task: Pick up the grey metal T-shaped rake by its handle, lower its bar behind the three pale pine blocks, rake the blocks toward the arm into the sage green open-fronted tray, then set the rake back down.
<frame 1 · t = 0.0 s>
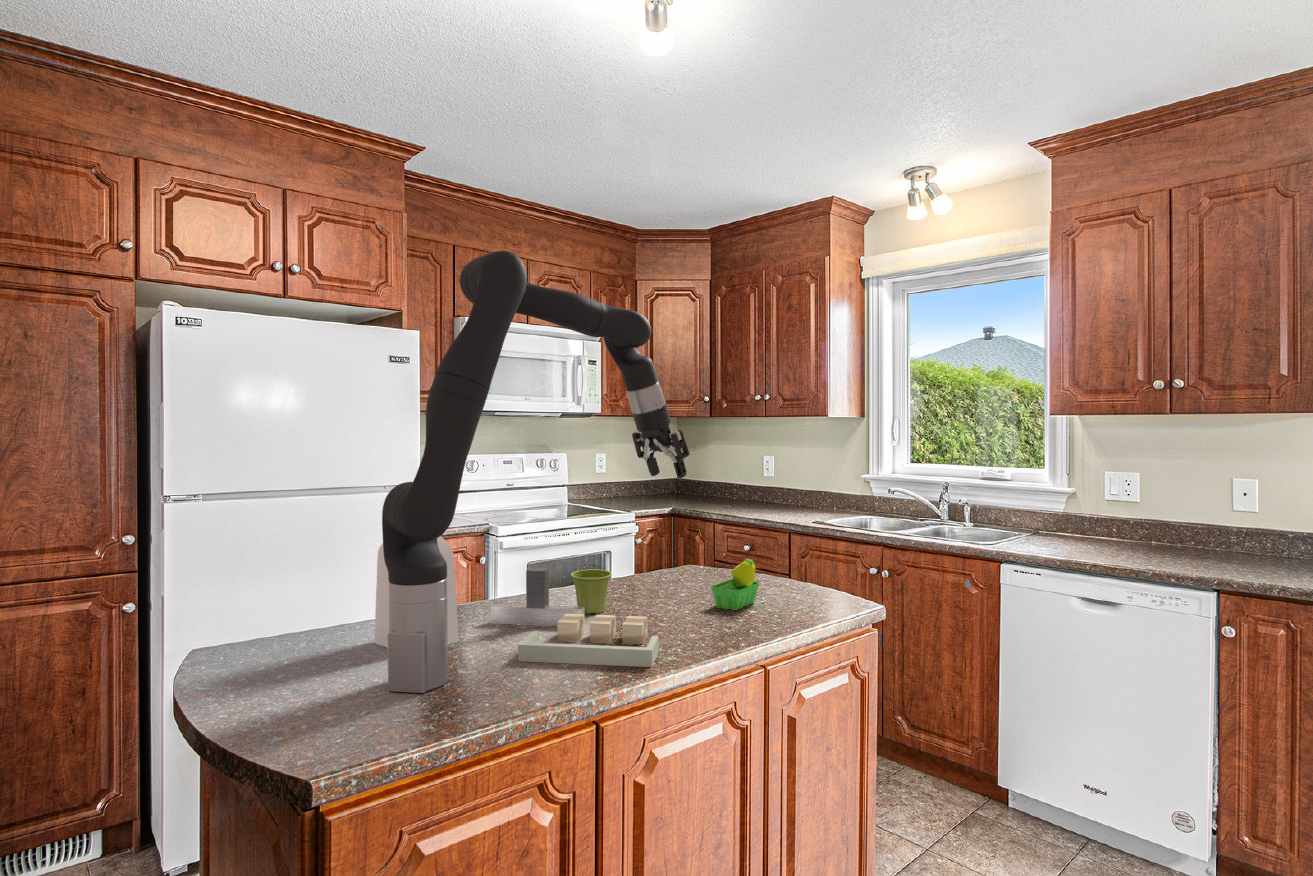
hand: (668, 475, 155), 31 cm above the worktop, tool tilted 20°, fingers open, 8 cm apart
plant pot: (591, 612, 163), on the worktop
milk: (416, 643, 140), on the worktop
block middle: (603, 639, 142), on the worktop
block left: (571, 638, 143), on the worktop
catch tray: (591, 654, 132), on the worktop
fruit basket: (737, 606, 167), on the worktop
block right: (635, 640, 141), on the worktop
rake: (537, 625, 152), on the worktop
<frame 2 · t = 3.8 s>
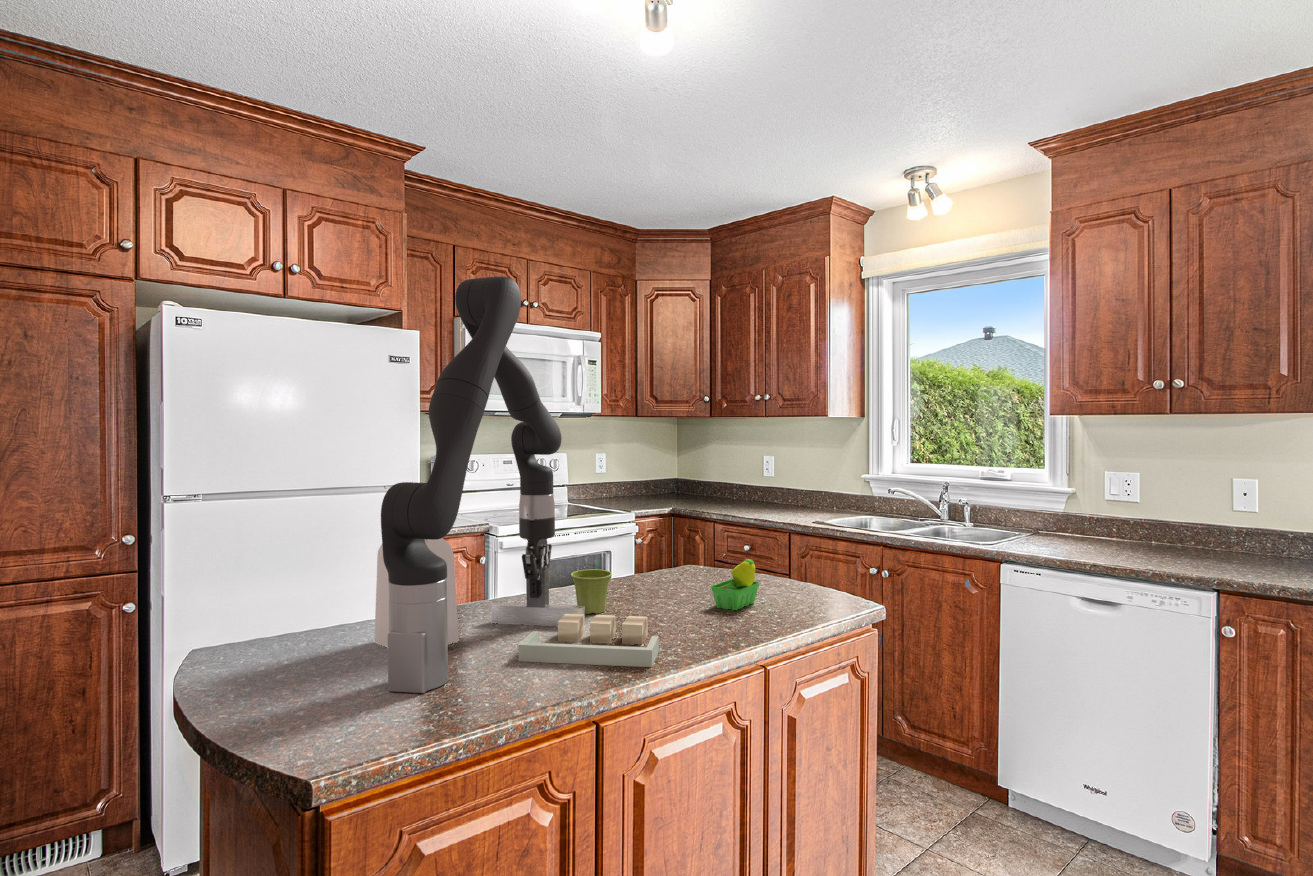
hand: (537, 595, 152), 6 cm above the worktop, tool pointing down, fingers closed on rake, 3 cm apart
rake: (538, 624, 153), on the worktop, touching gripper
everything else where it was.
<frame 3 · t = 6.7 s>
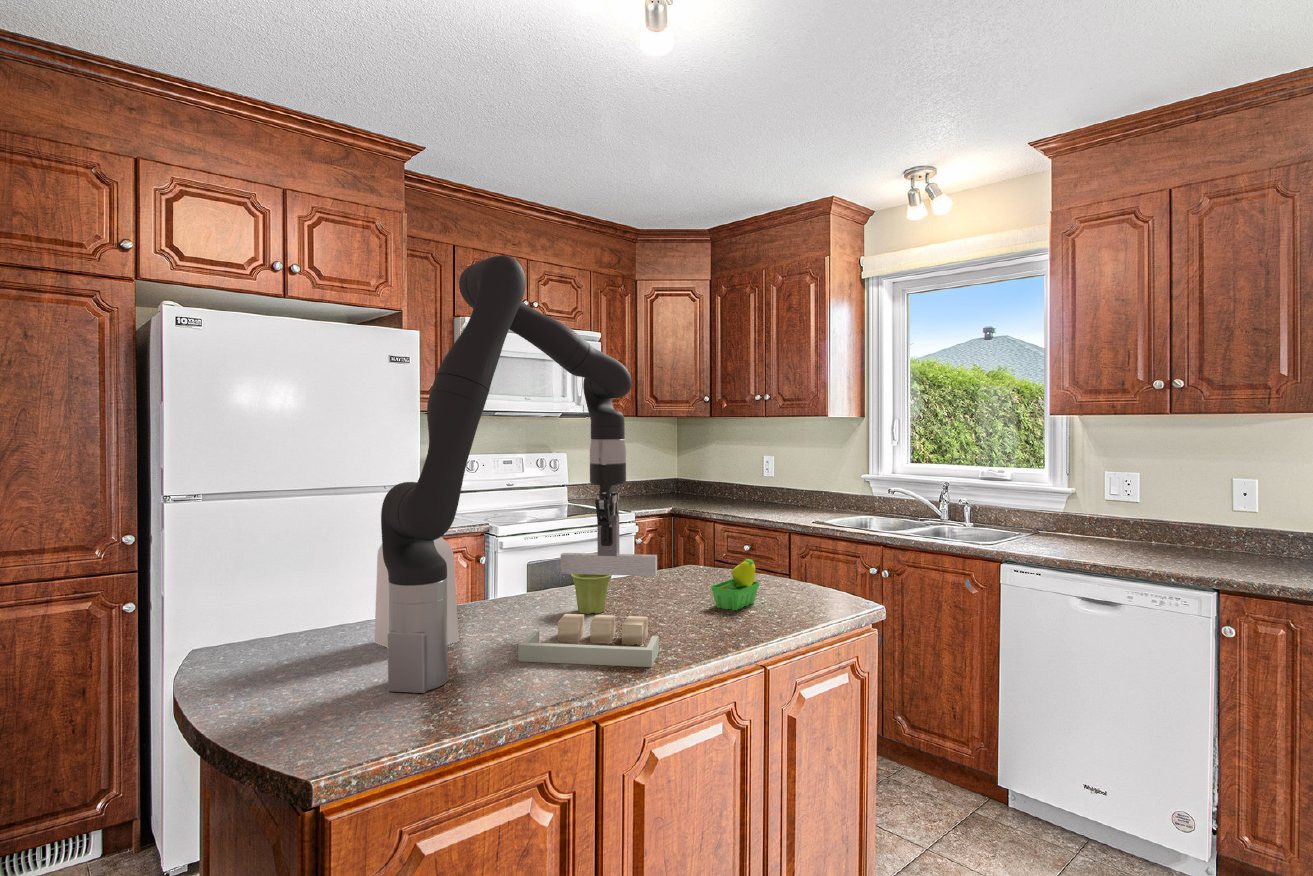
hand: (608, 543, 148), 18 cm above the worktop, tool pointing down, fingers closed on rake, 3 cm apart
rake: (608, 573, 148), point 12 cm above the worktop, touching gripper
everything else where it was.
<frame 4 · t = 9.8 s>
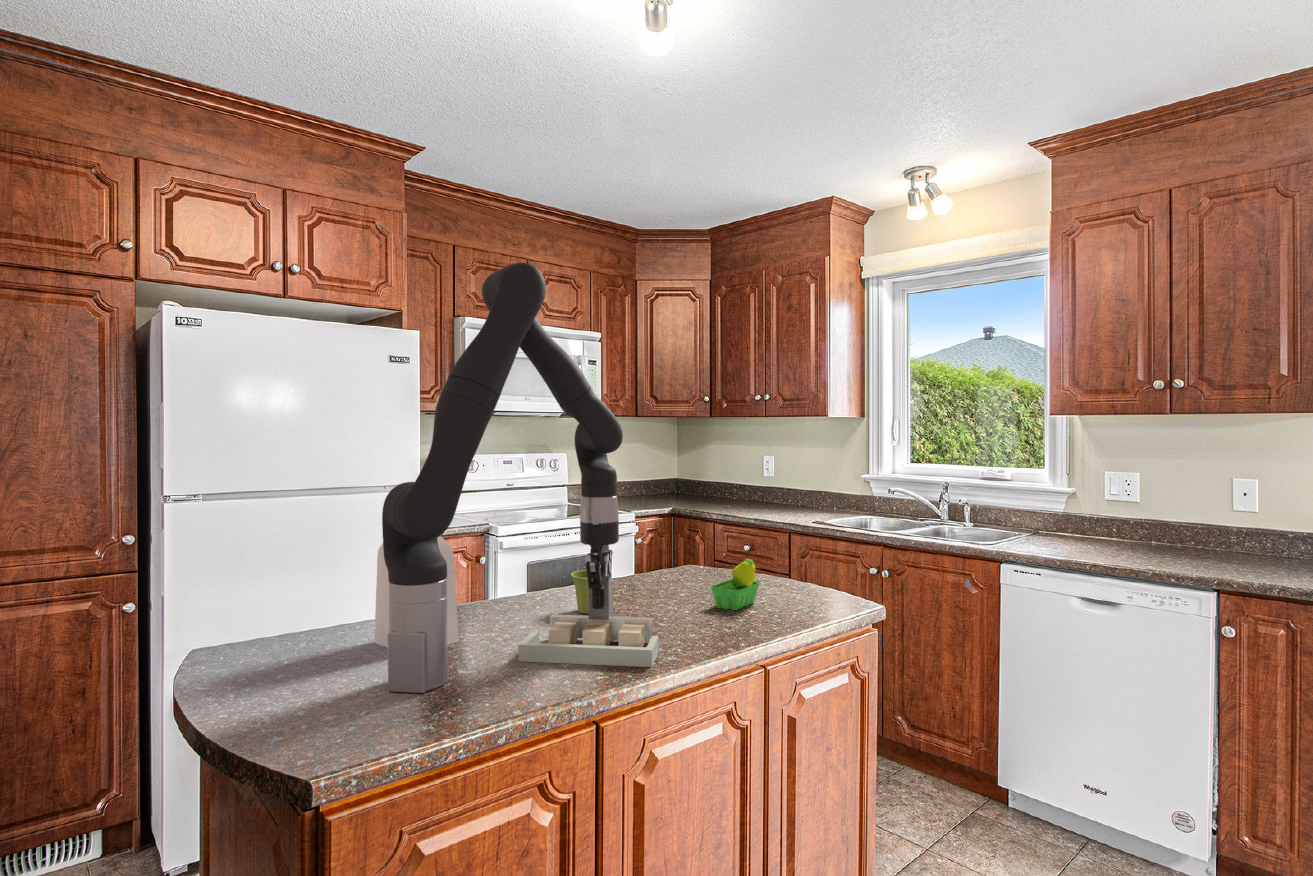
hand: (600, 605, 140), 7 cm above the worktop, tool pointing down, fingers closed on rake, 3 cm apart
block middle: (596, 647, 136), on the worktop
block left: (563, 646, 137), on the worktop, touching rake
block right: (631, 649, 136), on the worktop, touching rake
rake: (600, 637, 140), point 1 cm above the worktop, touching block left, block right, gripper
everything else where it was.
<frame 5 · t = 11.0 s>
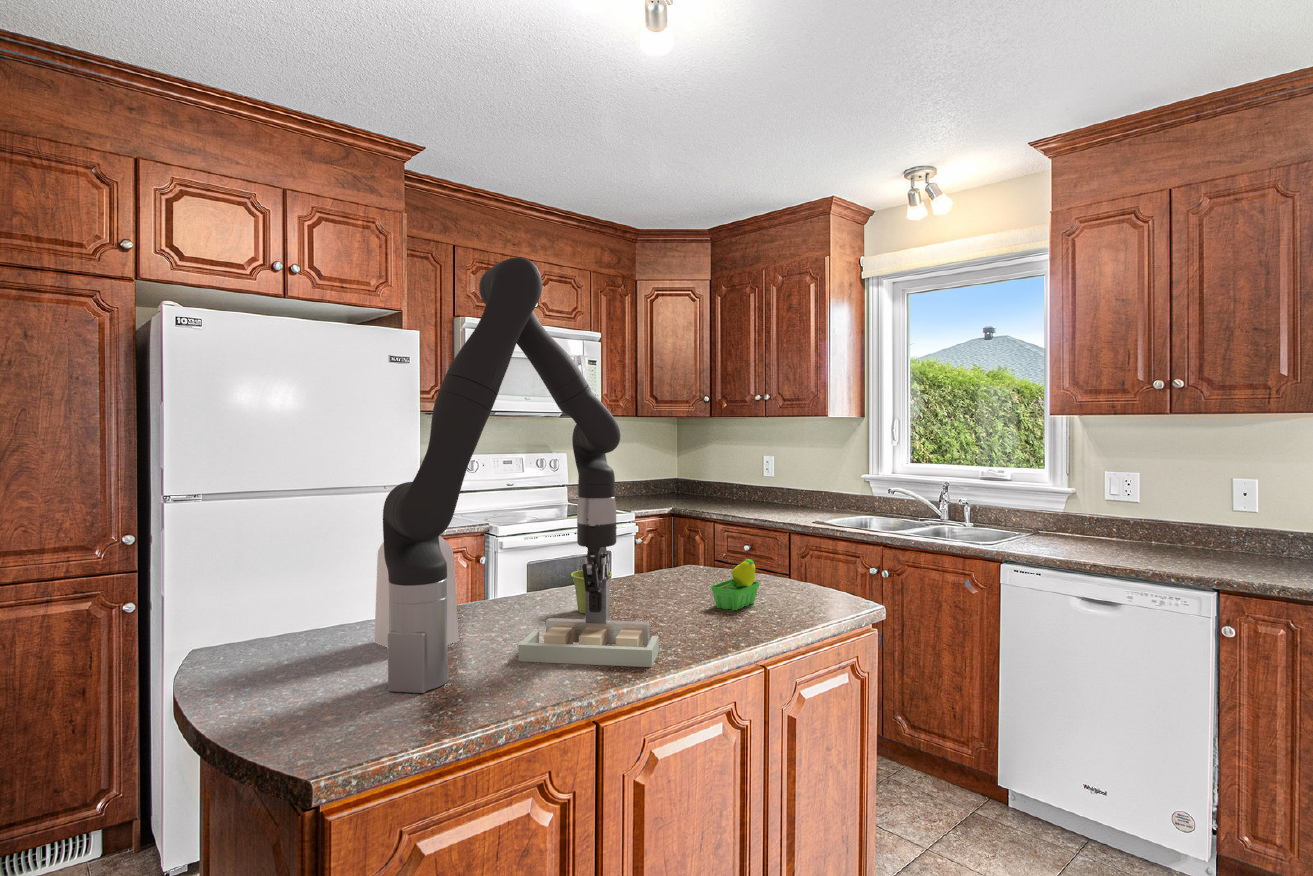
hand: (597, 609, 137), 7 cm above the worktop, tool pointing down, fingers closed on rake, 3 cm apart
block middle: (593, 653, 133), on the worktop, touching rake
block left: (558, 652, 134), on the worktop
block right: (629, 655, 132), on the worktop, touching rake
rake: (597, 642, 137), point 1 cm above the worktop, touching block middle, block right, gripper
everything else where it was.
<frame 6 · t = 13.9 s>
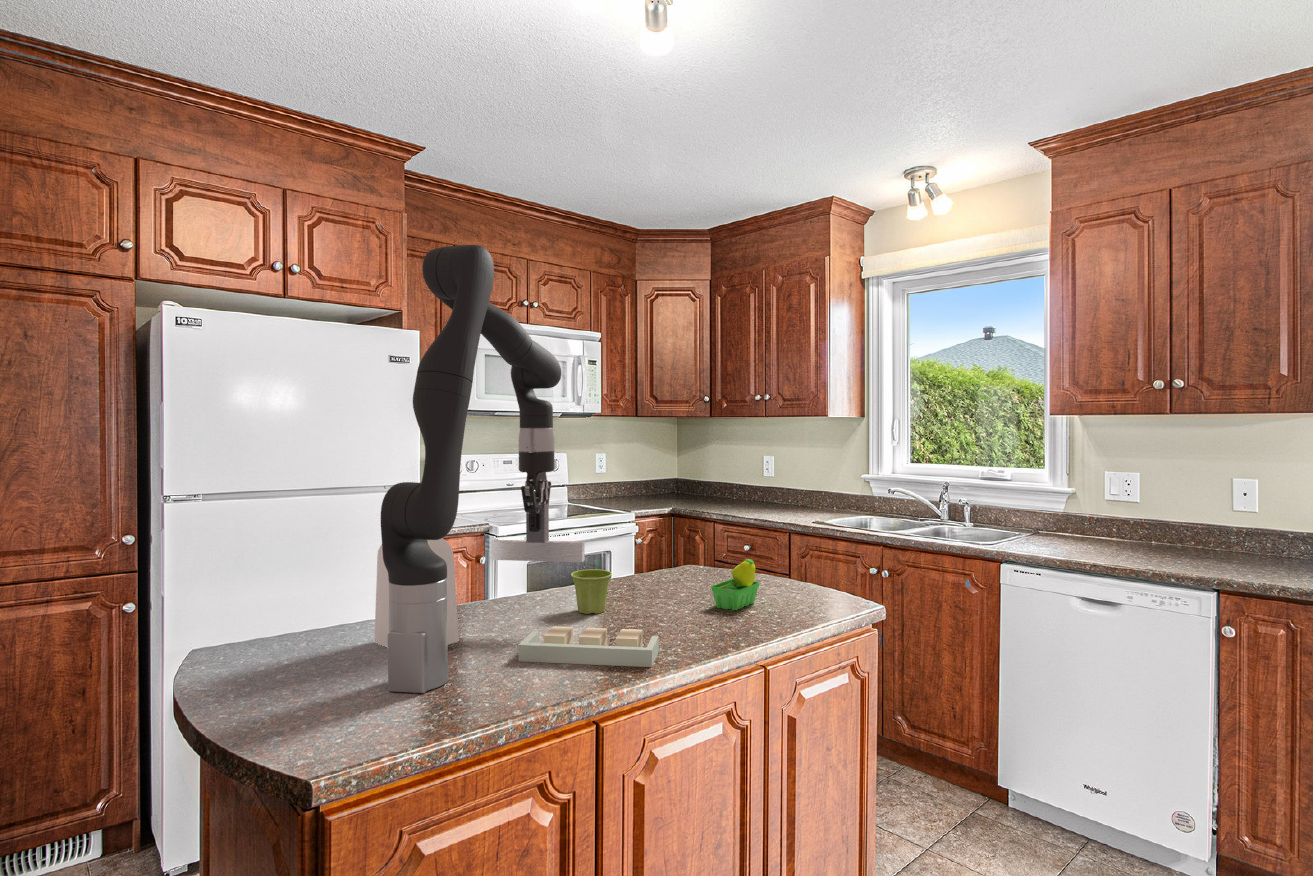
hand: (537, 529, 152), 20 cm above the worktop, tool pointing down, fingers closed on rake, 3 cm apart
block middle: (593, 653, 133), on the worktop
block right: (629, 655, 132), on the worktop
rake: (537, 560, 152), point 14 cm above the worktop, touching gripper
everything else where it was.
when the fingers open (7 cm above the worktop, at t = 16.5 s): rake stays where it is, on the worktop.
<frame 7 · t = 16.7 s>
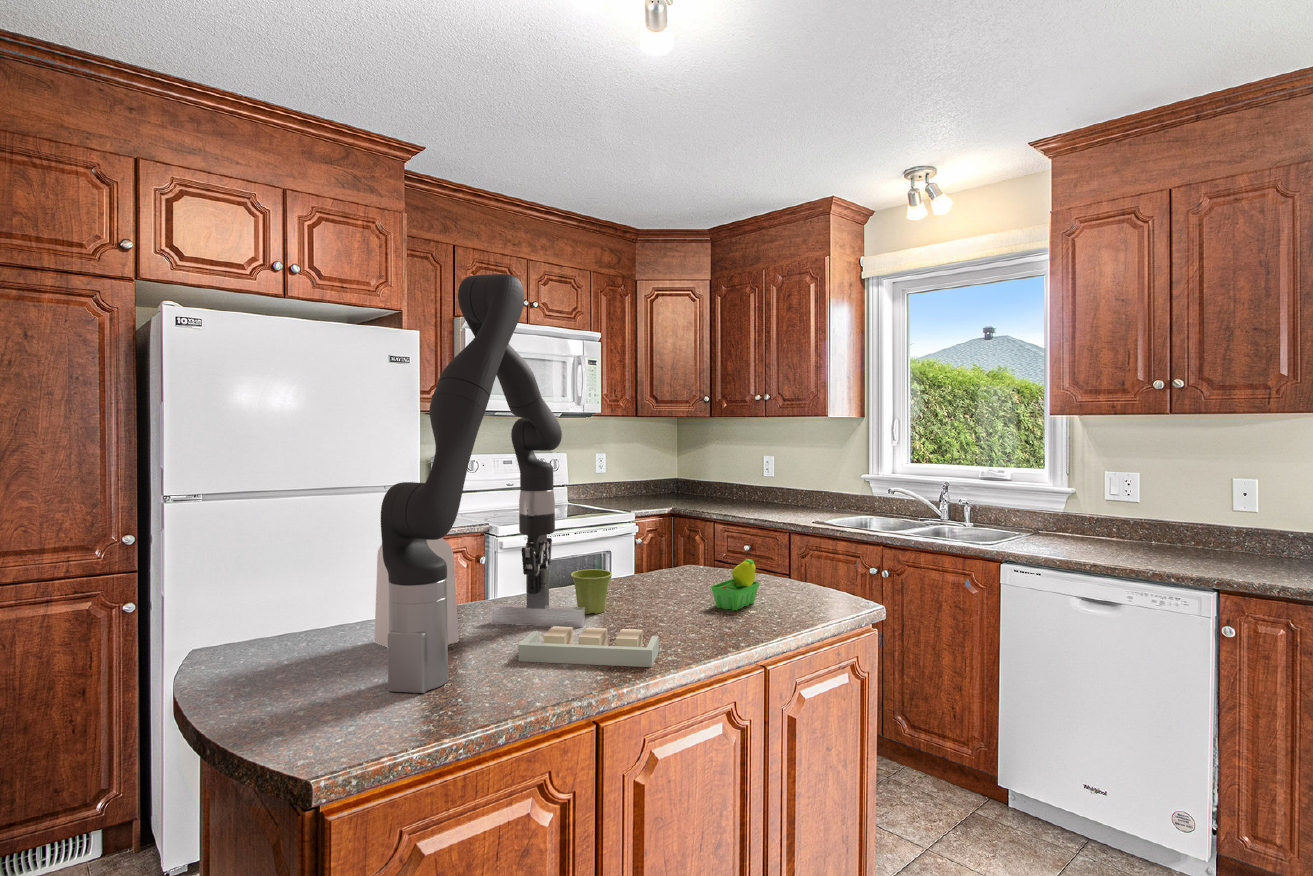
hand: (537, 590, 152), 7 cm above the worktop, tool pointing down, fingers open, 5 cm apart
rake: (538, 625, 152), on the worktop
everything else where it was.
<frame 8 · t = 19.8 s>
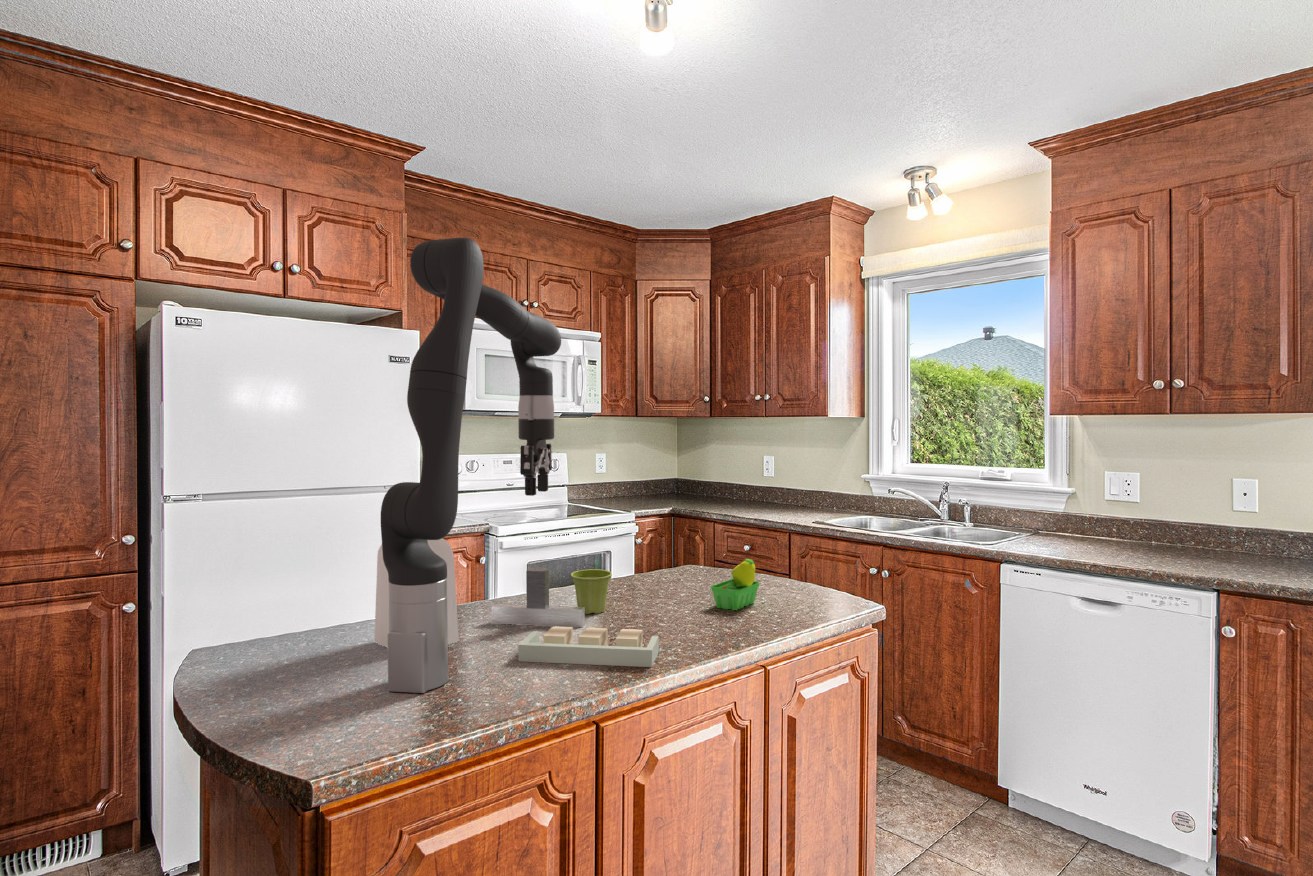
hand: (536, 493, 152), 28 cm above the worktop, tool pointing down, fingers open, 8 cm apart
nothing on the worktop moved.
at the end: block right inside the target area (7.0 cm from its centre), on the worktop; block middle inside the target area (0.4 cm from its centre), on the worktop; block left inside the target area (6.6 cm from its centre), on the worktop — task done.
